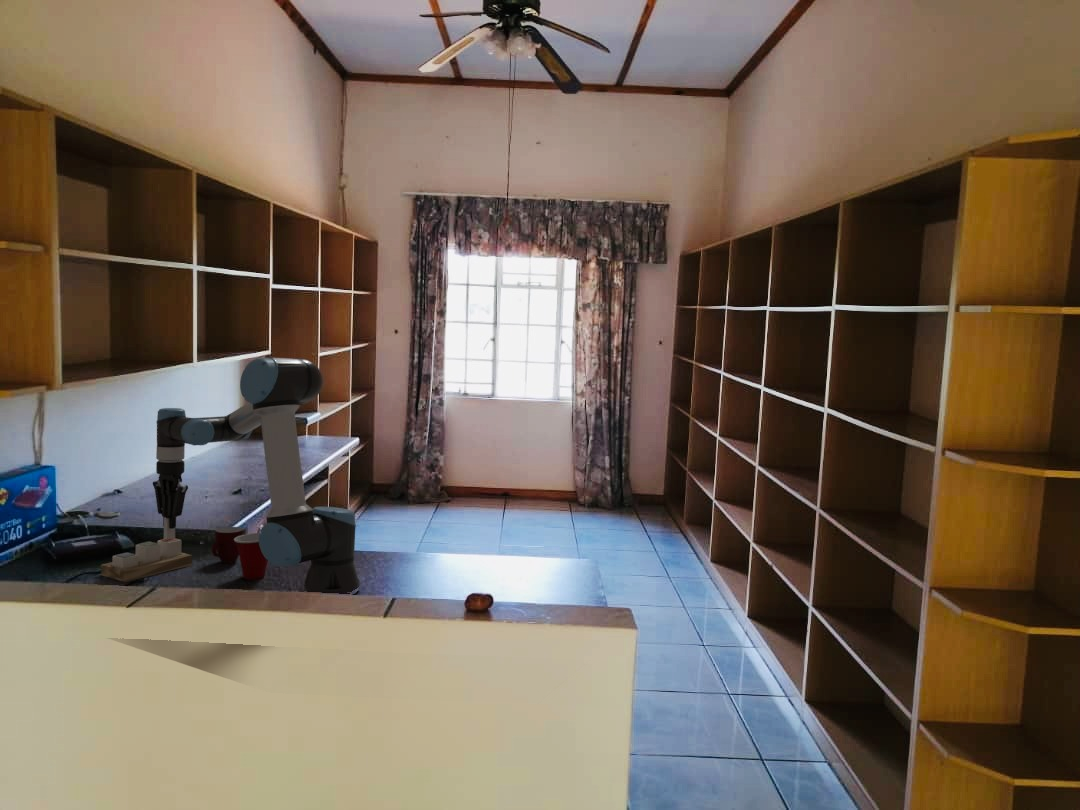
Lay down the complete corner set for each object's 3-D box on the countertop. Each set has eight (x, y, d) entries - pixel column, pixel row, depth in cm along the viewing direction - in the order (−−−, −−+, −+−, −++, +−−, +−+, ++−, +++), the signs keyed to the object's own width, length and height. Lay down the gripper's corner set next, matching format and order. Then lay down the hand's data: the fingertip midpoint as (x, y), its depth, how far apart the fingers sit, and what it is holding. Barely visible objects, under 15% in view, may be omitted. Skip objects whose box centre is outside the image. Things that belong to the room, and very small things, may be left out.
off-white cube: (138, 572, 218) (138, 554, 217) (122, 576, 214) (122, 557, 213) (127, 569, 220) (127, 551, 219) (112, 573, 216) (112, 555, 215)
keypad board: (191, 564, 230) (191, 555, 230) (126, 582, 211) (126, 571, 211) (167, 558, 235) (167, 549, 235) (101, 575, 216) (101, 564, 216)
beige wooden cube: (160, 561, 224) (160, 543, 223) (145, 564, 220) (146, 546, 219) (149, 558, 226) (150, 540, 225) (135, 561, 222) (135, 543, 221)
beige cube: (181, 556, 230) (181, 539, 230) (167, 559, 226) (167, 542, 226) (171, 553, 232) (171, 536, 232) (157, 557, 228) (157, 539, 228)
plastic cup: (240, 570, 226) (240, 530, 226) (277, 571, 227) (278, 531, 226) (227, 581, 216) (228, 539, 215) (266, 582, 216) (267, 540, 216)
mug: (227, 568, 228) (227, 535, 227) (203, 565, 229) (204, 533, 229) (248, 559, 238) (249, 528, 237) (225, 557, 240) (226, 525, 239)
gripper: (196, 461, 227) (195, 539, 229) (167, 456, 233) (166, 532, 235) (174, 464, 221) (172, 544, 222) (144, 459, 227) (143, 537, 228)
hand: (169, 538), depth 229 cm, fingers closed
